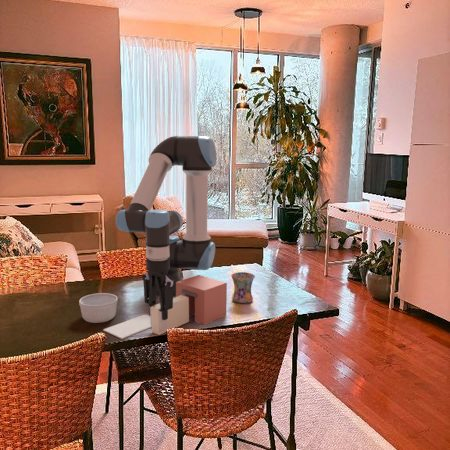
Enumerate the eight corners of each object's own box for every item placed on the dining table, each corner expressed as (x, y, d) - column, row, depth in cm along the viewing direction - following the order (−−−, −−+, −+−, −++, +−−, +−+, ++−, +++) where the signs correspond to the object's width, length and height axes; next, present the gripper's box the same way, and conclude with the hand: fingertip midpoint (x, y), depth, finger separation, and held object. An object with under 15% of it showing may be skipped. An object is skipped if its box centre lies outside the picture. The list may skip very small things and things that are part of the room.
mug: (256, 304, 177) (257, 278, 175) (233, 305, 175) (234, 279, 173) (249, 294, 189) (249, 269, 187) (227, 295, 187) (227, 270, 185)
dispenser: (174, 315, 164) (174, 282, 162) (198, 306, 174) (198, 274, 172) (202, 325, 156) (202, 291, 153) (226, 315, 165) (226, 282, 163)
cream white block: (151, 332, 149) (151, 306, 148) (181, 319, 160) (181, 295, 158) (159, 335, 147) (158, 309, 145) (189, 321, 158) (188, 297, 156)
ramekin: (82, 327, 153) (81, 307, 152) (77, 313, 165) (77, 295, 164) (121, 321, 159) (120, 302, 157) (114, 308, 170) (113, 291, 169)
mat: (103, 330, 150) (103, 329, 150) (144, 315, 164) (144, 314, 164) (121, 339, 144) (121, 337, 144) (163, 322, 158) (163, 321, 158)
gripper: (132, 255, 147) (133, 323, 151) (167, 265, 137) (167, 337, 141) (149, 251, 153) (150, 317, 157) (184, 260, 142) (184, 330, 147)
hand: (158, 326), depth 149 cm, fingers closed on cream white block, 3 cm apart
